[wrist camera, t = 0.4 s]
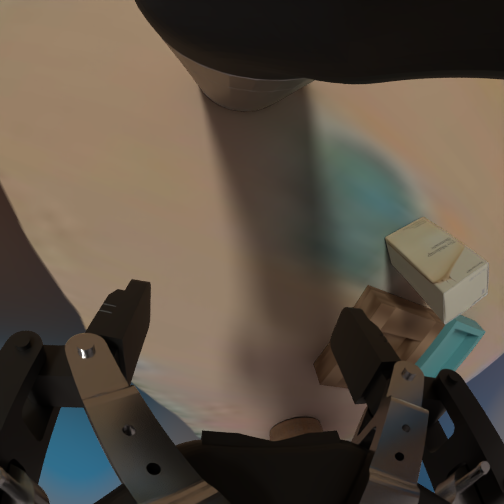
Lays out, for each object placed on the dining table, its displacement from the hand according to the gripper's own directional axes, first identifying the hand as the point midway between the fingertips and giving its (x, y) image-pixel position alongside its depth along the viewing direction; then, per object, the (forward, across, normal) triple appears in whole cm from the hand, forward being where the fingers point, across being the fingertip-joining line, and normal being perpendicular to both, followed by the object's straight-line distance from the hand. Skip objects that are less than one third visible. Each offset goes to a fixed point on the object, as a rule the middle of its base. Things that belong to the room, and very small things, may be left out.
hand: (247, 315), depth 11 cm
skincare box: (+18, -21, 0) cm, 28 cm away
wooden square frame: (+18, -23, +15) cm, 33 cm away
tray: (+19, -38, +18) cm, 46 cm away
